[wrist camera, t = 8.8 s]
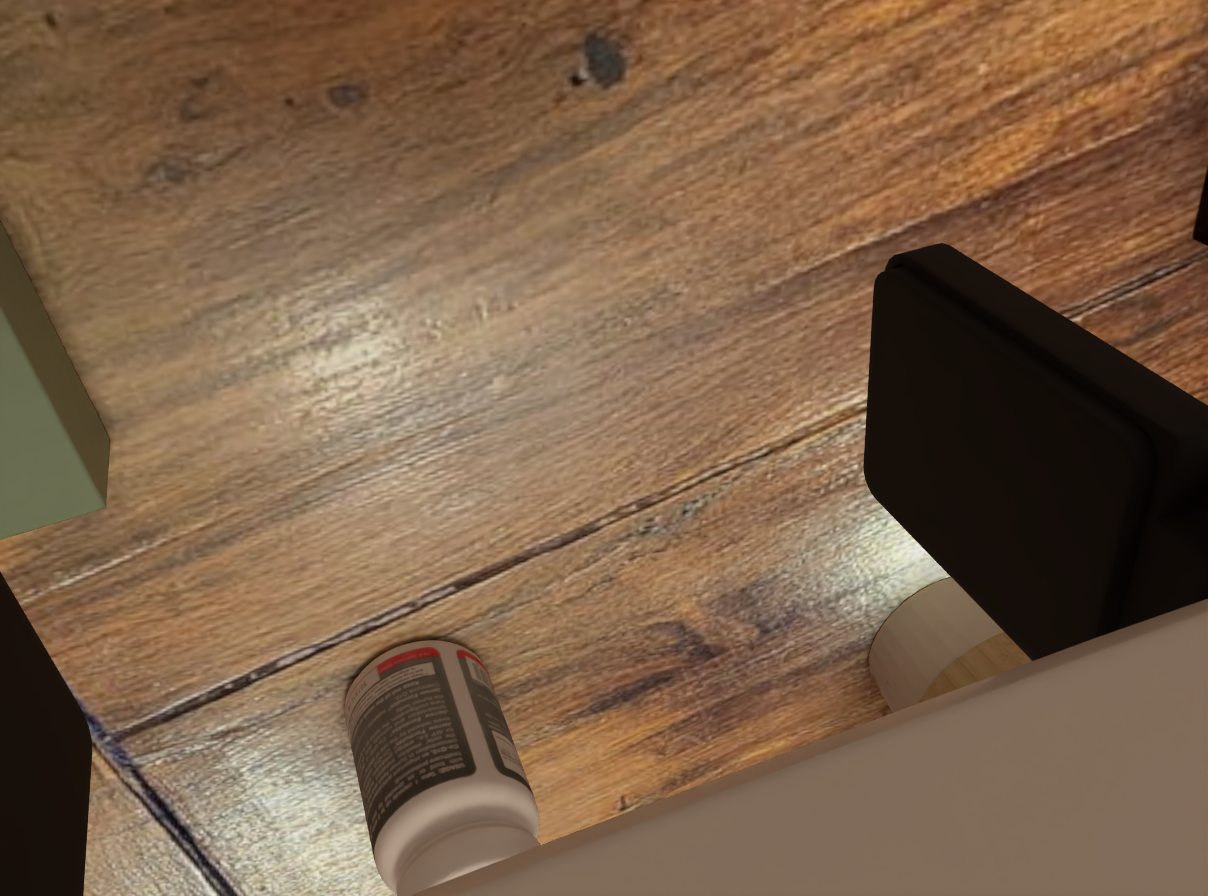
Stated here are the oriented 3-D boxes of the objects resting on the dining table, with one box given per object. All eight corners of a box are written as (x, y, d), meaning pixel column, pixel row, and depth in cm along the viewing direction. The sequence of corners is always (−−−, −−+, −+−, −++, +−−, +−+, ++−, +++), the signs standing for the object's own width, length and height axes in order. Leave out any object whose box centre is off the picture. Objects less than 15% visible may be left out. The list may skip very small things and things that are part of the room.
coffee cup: (1072, 526, 42) (1435, 830, 30) (992, 705, 47) (1275, 1027, 35) (865, 550, 38) (1183, 906, 26) (802, 742, 43) (1045, 1113, 31)
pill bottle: (324, 739, 34) (364, 977, 27) (369, 628, 32) (425, 853, 26) (458, 746, 36) (525, 966, 30) (508, 642, 34) (591, 852, 28)
